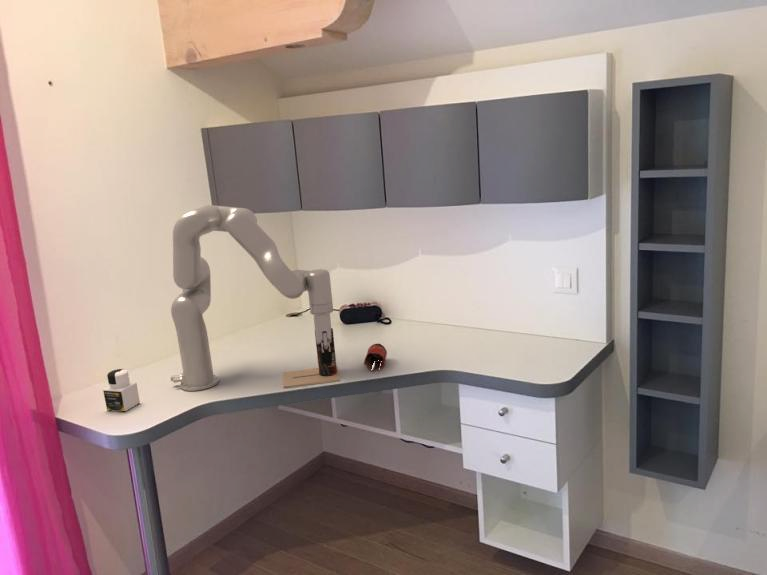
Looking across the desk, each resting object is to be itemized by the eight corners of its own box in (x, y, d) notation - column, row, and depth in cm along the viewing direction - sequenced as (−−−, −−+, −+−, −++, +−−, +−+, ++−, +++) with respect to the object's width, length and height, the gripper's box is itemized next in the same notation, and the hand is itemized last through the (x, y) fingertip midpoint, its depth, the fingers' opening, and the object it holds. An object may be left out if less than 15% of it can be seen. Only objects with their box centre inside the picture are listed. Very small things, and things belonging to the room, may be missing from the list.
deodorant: (332, 376, 214) (328, 332, 210) (316, 375, 216) (311, 332, 212) (339, 370, 219) (335, 327, 216) (323, 369, 221) (319, 327, 218)
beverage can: (388, 359, 228) (387, 341, 227) (385, 371, 217) (383, 352, 215) (368, 360, 229) (366, 342, 228) (364, 372, 217) (362, 353, 216)
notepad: (283, 388, 209) (283, 386, 209) (283, 373, 223) (283, 371, 222) (339, 381, 211) (339, 379, 211) (336, 367, 225) (336, 365, 225)
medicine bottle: (106, 410, 203) (99, 374, 200) (122, 401, 209) (116, 366, 207) (124, 412, 200) (117, 375, 198) (140, 403, 207) (134, 367, 204)
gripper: (309, 302, 220) (314, 353, 224) (310, 315, 204) (316, 369, 208) (331, 300, 221) (336, 350, 225) (334, 312, 204) (340, 367, 208)
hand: (326, 359), depth 216 cm, fingers open, 6 cm apart
